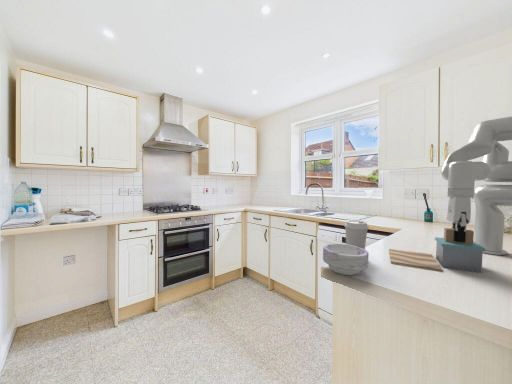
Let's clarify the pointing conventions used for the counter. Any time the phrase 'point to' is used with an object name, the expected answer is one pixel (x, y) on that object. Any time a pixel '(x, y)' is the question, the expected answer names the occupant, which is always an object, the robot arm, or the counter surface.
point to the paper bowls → (345, 258)
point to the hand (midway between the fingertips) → (458, 240)
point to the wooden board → (414, 259)
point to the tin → (459, 258)
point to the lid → (468, 244)
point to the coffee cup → (356, 233)
